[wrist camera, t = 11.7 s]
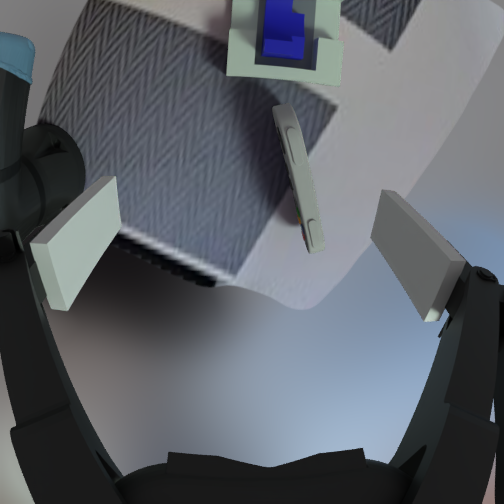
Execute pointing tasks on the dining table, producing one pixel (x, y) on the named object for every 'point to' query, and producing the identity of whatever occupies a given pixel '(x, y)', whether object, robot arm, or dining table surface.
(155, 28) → the dining table surface
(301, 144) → the slide sandal
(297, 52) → the cable clip
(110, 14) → the dining table surface
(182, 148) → the dining table surface
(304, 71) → the holder
